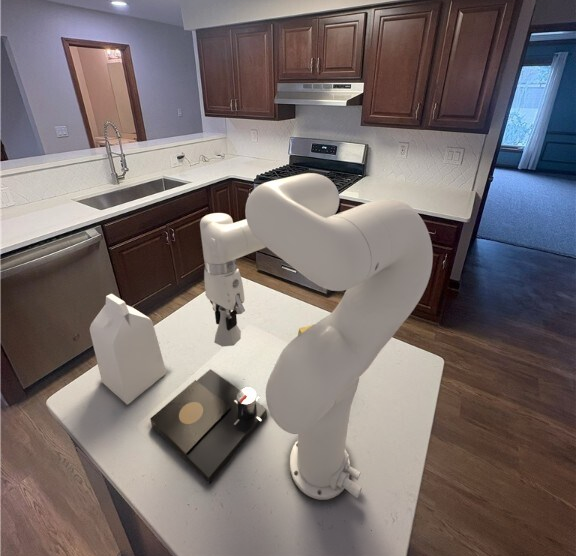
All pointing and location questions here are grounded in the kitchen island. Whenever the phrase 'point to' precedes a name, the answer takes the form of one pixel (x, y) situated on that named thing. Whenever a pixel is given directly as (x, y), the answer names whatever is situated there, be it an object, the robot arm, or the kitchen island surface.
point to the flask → (226, 331)
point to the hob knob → (246, 403)
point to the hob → (220, 430)
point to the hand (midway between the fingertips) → (226, 323)
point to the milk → (126, 349)
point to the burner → (190, 416)
